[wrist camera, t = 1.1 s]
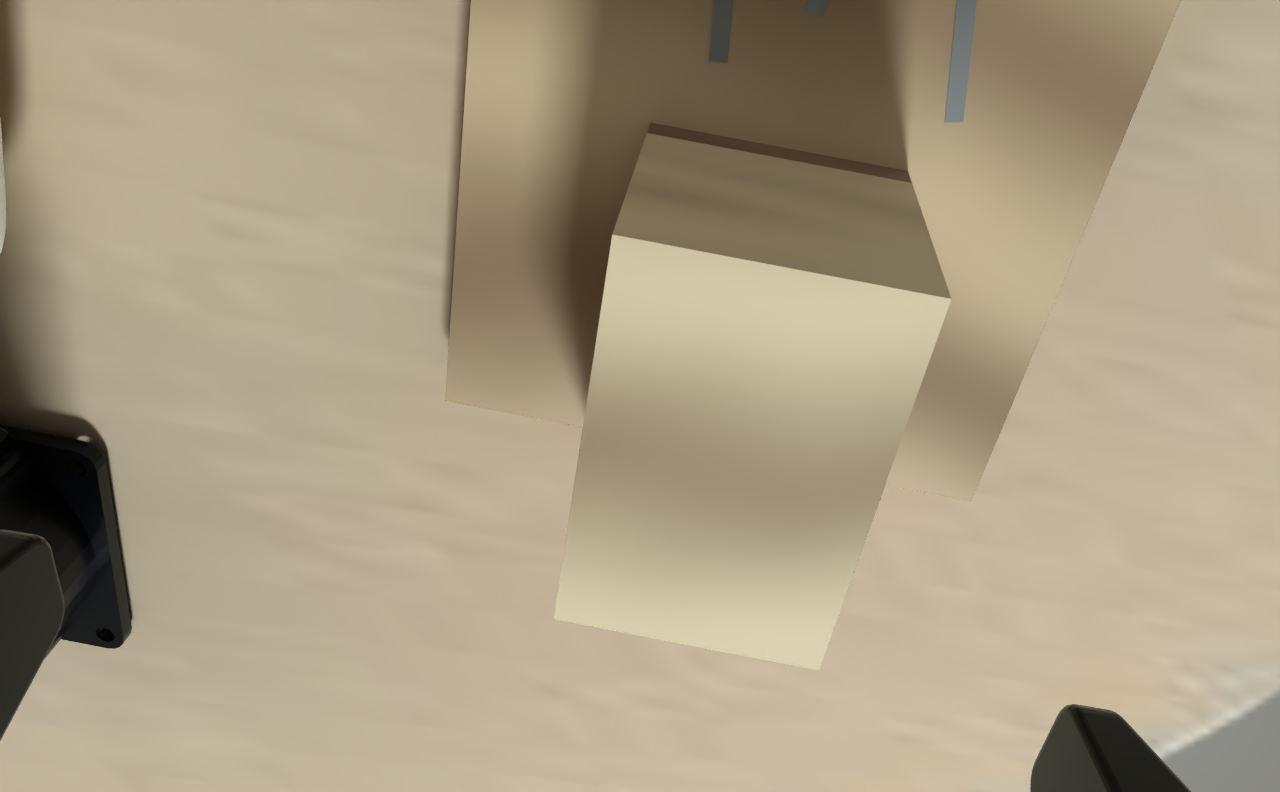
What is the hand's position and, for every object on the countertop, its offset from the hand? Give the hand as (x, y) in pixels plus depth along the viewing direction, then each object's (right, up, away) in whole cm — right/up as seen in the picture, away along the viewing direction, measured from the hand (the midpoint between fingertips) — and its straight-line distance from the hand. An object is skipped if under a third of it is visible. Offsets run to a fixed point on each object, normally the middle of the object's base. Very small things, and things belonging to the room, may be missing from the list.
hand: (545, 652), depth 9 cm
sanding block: (+3, +4, +10) cm, 11 cm away
